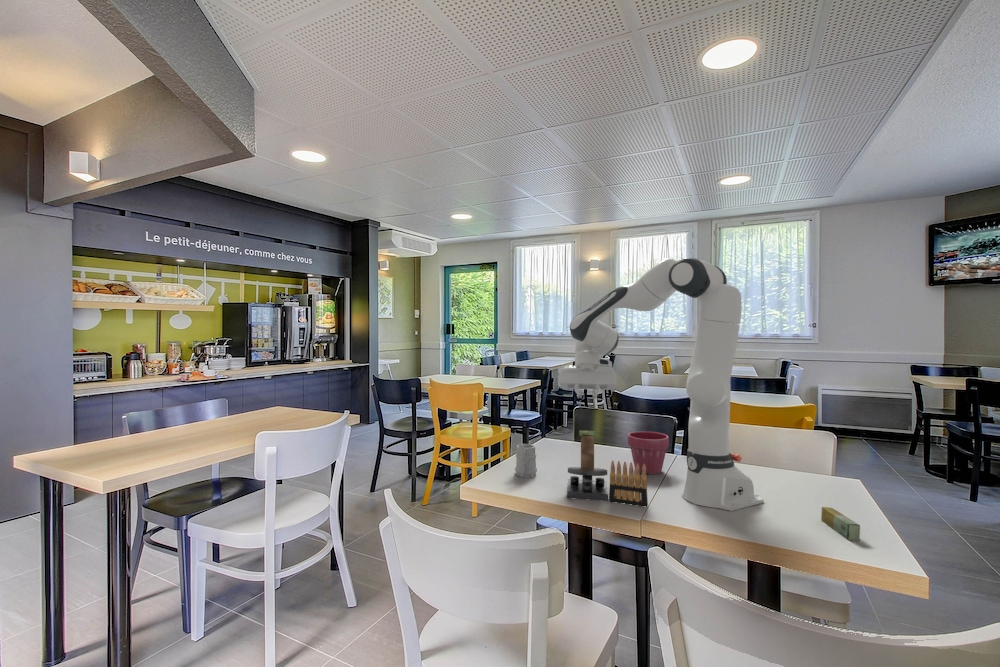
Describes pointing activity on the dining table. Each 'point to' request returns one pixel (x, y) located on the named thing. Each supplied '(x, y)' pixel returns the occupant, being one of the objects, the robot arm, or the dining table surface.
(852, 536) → the medication box
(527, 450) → the mug
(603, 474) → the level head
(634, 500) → the ammunition clip
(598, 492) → the stand
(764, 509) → the dining table surface
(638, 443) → the plant pot
